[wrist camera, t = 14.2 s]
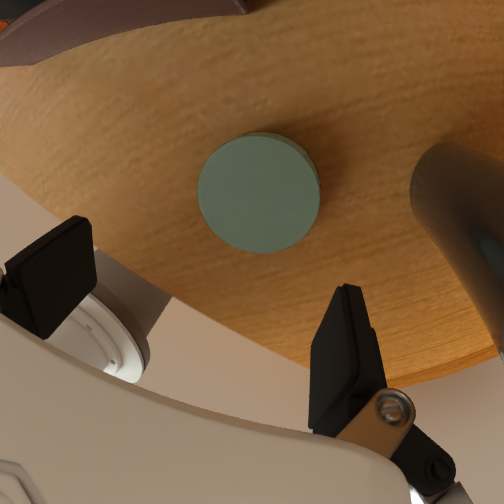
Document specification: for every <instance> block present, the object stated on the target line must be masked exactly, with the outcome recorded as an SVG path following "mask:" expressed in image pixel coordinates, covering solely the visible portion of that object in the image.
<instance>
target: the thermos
mask: <svg viewBox="0 0 504 504" xmlns="http://www.w3.org/2000/svg"><path fill="white" fill-rule="evenodd" d="M410 202H411V207H412V210H413V213H414V215H415V217H416V219H417V221H418V222H419V223H420V225H421V226H422V227H423V229H424V230H425V231H426V233H427V234H428V235H429V237H430V238H431V240H432V241H433V242H434V244H435V245H436V246H437V248H438V249H439V251H440V252H441V254H442V255H443V256H444V258H445V259H446V261H447V262H448V264H449V265H450V267H451V268H452V270H453V271H454V273H455V275H456V276H457V278H458V279H459V281H460V282H461V284H462V286H463V287H464V289H465V291H466V292H467V294H468V296H469V297H470V299H471V301H472V302H473V304H474V306H475V308H476V309H477V311H478V313H479V315H480V317H481V319H482V320H483V322H484V324H485V326H486V328H487V330H488V332H489V334H490V336H491V338H492V340H493V342H494V344H495V346H496V348H497V350H498V353H499V355H500V357H501V359H502V361H503V364H504V159H503V158H500V157H498V156H496V155H493V154H491V153H489V152H486V151H484V150H481V149H479V148H476V147H474V146H471V145H468V144H465V143H463V142H458V141H446V142H442V143H439V144H437V145H435V146H434V147H432V148H431V149H429V150H428V151H427V152H426V153H425V154H424V155H423V156H422V158H421V159H420V160H419V162H418V163H417V165H416V167H415V169H414V172H413V175H412V179H411V184H410Z"/></svg>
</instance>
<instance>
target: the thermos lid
mask: <svg viewBox="0 0 504 504" xmlns="http://www.w3.org/2000/svg"><path fill="white" fill-rule="evenodd" d="M319 186H321V185H320V178H319V177H318V175H317V171H316V169H315V166H314V164H313V162H312V160H311V159H310V157H309V156H308V155H307V151H306V150H305V151H304V150H303V149H302V148H301V147H300V146H299V145H297V144H296V143H295V142H293V141H292V140H290V139H288V138H286V137H284V136H281V135H280V134H274V133H268V132H255V133H249V132H248V133H245V134H243V135H242V136H240V137H238V138H236V139H233V140H231V141H229V142H227V143H225V144H224V145H222V146H221V147H219V148H218V149H216V150H215V151H214V152H213V153H212V155H211V156H210V157H209V158H208V159H207V161H206V163H205V164H204V166H203V168H202V170H201V173H200V176H199V180H198V187H197V195H198V203H199V207H200V210H201V213H202V215H203V217H204V219H205V221H206V223H207V224H208V226H209V227H210V228H211V230H212V231H213V232H214V233H215V234H216V235H217V236H218V237H219V238H221V239H222V240H223V241H225V242H226V243H228V244H229V245H231V246H233V247H235V248H238V249H240V250H243V251H247V252H252V253H272V252H278V251H281V250H284V249H286V248H288V247H291V246H292V245H294V244H296V243H297V242H298V241H300V240H301V239H302V238H303V237H304V236H305V235H306V234H307V233H308V232H309V230H310V229H311V227H312V226H313V224H314V222H315V220H316V218H317V215H318V212H319V206H320V189H319Z"/></svg>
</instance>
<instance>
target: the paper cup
mask: <svg viewBox="0 0 504 504" xmlns="http://www.w3.org/2000/svg"><path fill="white" fill-rule="evenodd" d="M6 26H8V23H6V22H0V32H1V31H2V30H3V29H4V28H5V27H6Z"/></svg>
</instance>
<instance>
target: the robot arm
mask: <svg viewBox="0 0 504 504" xmlns="http://www.w3.org/2000/svg"><path fill="white" fill-rule="evenodd" d="M4 265H5V268H6V272H7V273H6V274H5V275H4V274H3V271H2V269H1V268H0V504H473V502H472V501H471V499H470V498H469V496H468V494H467V493H466V491H465V489H464V488H463V486H462V485H461V483H460V482H459V481H458V482H457V483H455V481H454V478H455V475H456V468H455V463H454V461H453V459H452V457H450V455H449V454H448V453H447V452H445V451H444V450H443V449H442V448H441V447H440V446H439V445H437V444H436V443H435V442H434V441H433V440H431V438H429V437H428V436H427V435H426V434H425V433H424V432H422V431H421V430H420V429H419V428H418V427H417V426H415V425H414V424H413V422H414V420H415V417H416V410H415V407H414V404H413V402H412V401H411V399H410V398H409V397H408V396H407V395H406V394H405V393H403V392H402V391H400V390H397V389H394V388H387V383H386V378H385V373H384V368H383V363H382V358H381V354H380V349H379V345H378V341H377V336H376V332H375V330H374V329H373V328H372V327H371V326H370V321H369V317H368V313H367V309H366V305H365V301H364V297H363V294H362V290H361V287H359V286H354V285H350V284H346V283H345V284H344V285H343V286H342V287H341V286H338V287H337V288H336V290H335V293H334V295H333V297H332V300H331V302H330V304H329V306H328V309H327V311H326V313H325V315H324V318H323V320H322V322H321V324H320V326H319V328H318V331H317V333H316V335H315V337H314V339H313V341H312V345H311V357H310V395H309V419H308V427H309V429H313V433H307V432H302V431H297V430H292V429H287V428H281V427H276V426H271V425H266V424H261V423H257V422H252V421H248V420H244V419H240V418H236V417H232V416H228V415H224V414H220V413H217V412H213V411H209V410H206V409H203V408H199V407H196V406H192V405H189V404H186V403H183V402H180V401H177V400H174V399H171V398H168V397H165V396H163V395H160V394H157V393H154V392H152V391H149V390H146V389H144V388H141V387H139V386H136V385H134V384H131V383H129V382H126V381H124V380H122V379H119V378H117V377H115V376H112V375H114V374H116V373H117V372H118V370H119V368H120V367H121V362H122V361H121V356H120V353H119V351H118V348H117V346H116V345H115V343H114V341H113V340H112V339H111V337H110V336H109V335H108V333H107V332H106V331H105V330H104V329H103V328H102V326H101V325H100V324H99V323H98V322H97V321H96V320H95V319H93V318H92V317H91V316H90V315H89V314H87V313H86V312H85V311H84V310H82V309H81V308H79V307H78V305H79V304H80V303H81V301H82V300H83V299H84V298H85V297H86V296H87V295H88V294H89V293H90V292H91V291H92V290H93V289H94V288H95V286H96V283H97V276H96V268H95V259H94V249H93V238H92V226H91V223H89V220H88V219H87V218H85V217H81V216H77V215H75V216H72V217H71V218H69V219H68V220H66V221H64V222H63V223H61V224H60V225H58V226H57V227H55V228H54V229H52V230H51V231H49V232H48V233H46V234H45V235H43V236H42V237H40V238H39V239H37V240H36V241H34V242H33V243H32V244H30V245H29V246H27V247H26V248H25V249H23V250H22V251H20V252H19V253H18V254H16V255H15V256H14V257H12V258H11V259H10V260H8V261H7V262H6V263H5V264H4Z"/></svg>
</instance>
